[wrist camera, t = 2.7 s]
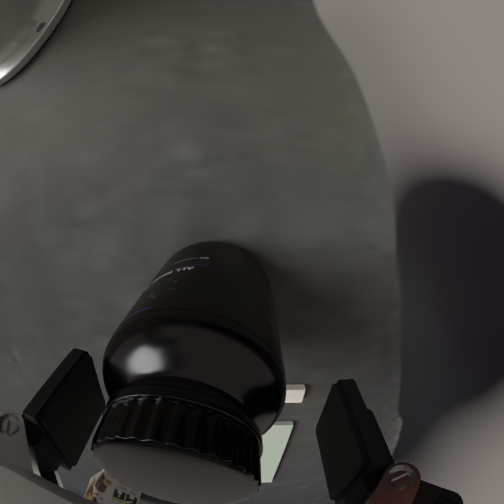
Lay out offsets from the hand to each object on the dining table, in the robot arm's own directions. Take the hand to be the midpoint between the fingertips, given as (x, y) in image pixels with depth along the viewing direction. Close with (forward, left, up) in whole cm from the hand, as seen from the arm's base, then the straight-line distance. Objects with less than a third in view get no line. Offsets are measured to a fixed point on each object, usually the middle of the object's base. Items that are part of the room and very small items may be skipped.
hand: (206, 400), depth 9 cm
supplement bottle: (-1, -1, -8) cm, 8 cm away
